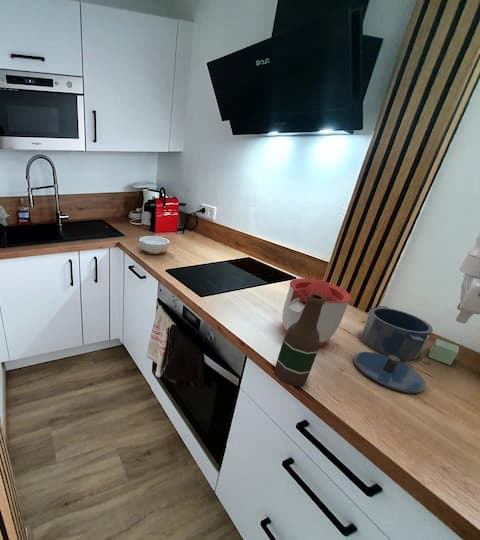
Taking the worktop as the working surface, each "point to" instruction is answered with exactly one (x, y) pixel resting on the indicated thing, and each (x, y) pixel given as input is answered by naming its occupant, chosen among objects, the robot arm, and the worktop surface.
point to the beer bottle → (300, 345)
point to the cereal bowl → (154, 244)
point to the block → (444, 351)
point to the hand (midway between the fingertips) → (460, 315)
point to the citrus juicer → (329, 312)
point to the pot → (395, 333)
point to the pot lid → (389, 372)
